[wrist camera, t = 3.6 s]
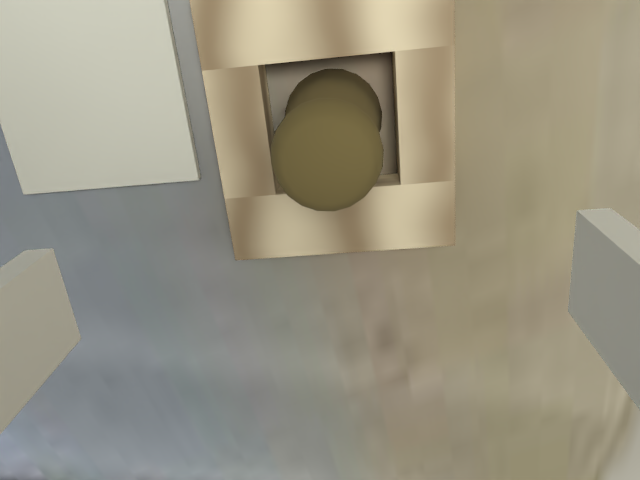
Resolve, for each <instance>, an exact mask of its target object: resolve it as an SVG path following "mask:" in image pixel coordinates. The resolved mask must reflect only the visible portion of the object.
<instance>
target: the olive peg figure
mask: <svg viewBox="0 0 640 480" xmlns="http://www.w3.org/2000/svg"><path fill="white" fill-rule="evenodd" d="M381 121H382V111H381V107H380V103H379V99H378V97H377V95H376V94H375V92H374V91H373V89H372V88H371V86H370V84H368V83H367V82H366V81H365V80H363V79H362V78H361V77H360V76H358V75H357V74H354V73H352V72H349V71H346V70H343V69H324V70H321V71H318V72H315V73H312V74H310V75H309V76H308V77H306V78H305V79H304V80H302V81H301V82H300V83H299V84H298V85H297V86H296V88H295V89H294V91H293V92H292V94H291V95H290V97H289V100H288V104H287V107H286V110H285V118H284V119H283V121H282V122H281V124H280V125H279V126H278V128H277V129H276V131H275V135H274V138H273V141H272V145H271V165H272V168H273V171H274V174H275V176H276V179H277V182H278V184H279V185H280V186H281V187H282V189H283V190H284V191H285V193H286V194H287V195H288V196H289V197H290V198H291V199H293V200H294V201H296V202H297V203H298V204H300V205H301V206H304V207H307V208H310V209H313V210H316V211H337V210H341V209H344V208H348V207H351V206H352V205H354V204H355V203H357V202H358V201H360V200H361V199H363V198H364V197H365V196H366V195H367V194H368V193H369V191H370V190H371V189H372V188H373V186H374V185H375V184H376V183H377V180H378V178H379V175H380V172H381V170H382V167H383V152H384V149H383V145H382V142H381V138H380V134H379V132H380V129H381Z"/></svg>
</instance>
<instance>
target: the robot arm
mask: <svg viewBox="0 0 640 480" xmlns="http://www.w3.org/2000/svg"><path fill="white" fill-rule="evenodd" d="M568 312H569V313H570V315H571V316H572V318H573V319H574V320H575V322H576V323H577V324H578V326H579V327H580V329H581V330H582V331H583V333H584V334H585V335H586V337H587V338H588V340H589V341H590V342H591V344H592V345H593V346H594V348H595V349H596V351H597V352H598V353H599V355H600V356H601V357H602V359H603V360H604V362H605V363H606V364H607V366H608V367H609V368H610V370H611V371H612V373H613V374H614V375H615V377H616V378H617V379H618V381H619V382H620V384H621V385H622V386H623V388H624V389H625V390H626V392H627V393H628V395H629V396H630V397H631V399H632V400H633V401H634V403H635V404H636V406H637V407H638V408H639V410H640V230H639V229H638V228H637V227H635V226H634V225H633V224H631V223H630V222H629V221H627V220H626V219H625V218H623V217H622V216H621V215H619V214H618V213H617V212H615V211H614V210H613V209H611V208H603V209H589V210H577V214H576V226H575V237H574V249H573V260H572V272H571V283H570V295H569V306H568ZM80 339H81V336H80V333H79V330H78V326H77V323H76V320H75V317H74V314H73V311H72V307H71V304H70V301H69V298H68V295H67V292H66V288H65V285H64V282H63V279H62V276H61V272H60V269H59V266H58V263H57V260H56V257H55V253H54V250H53V248H49V249H35V250H25V251H23V252H22V253H20V254H19V255H18V256H16V257H15V258H13V259H12V260H11V261H9V262H8V263H6V264H5V265H4V266H2V267H1V268H0V434H1V433H2V432H3V431H4V429H5V428H6V427H7V426H8V425H9V424H10V422H11V421H12V420H13V419H14V418H15V416H16V415H17V414H18V413H19V412H20V410H21V409H22V408H23V407H24V406H25V405H26V403H27V402H28V401H29V400H30V399H31V397H32V396H33V395H34V394H35V393H36V392H37V390H38V389H39V388H40V387H41V386H42V384H43V383H44V382H45V381H46V380H47V379H48V377H49V376H50V375H51V374H52V373H53V371H54V370H55V369H56V368H57V367H58V366H59V364H60V363H61V362H62V361H63V360H64V358H65V357H66V356H67V355H68V354H69V352H70V351H71V350H72V349H73V348H74V347H75V345H76V344H77V343H78V342H79V341H80Z"/></svg>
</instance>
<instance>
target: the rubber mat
mask: <svg viewBox="0 0 640 480" xmlns="http://www.w3.org/2000/svg"><path fill="white" fill-rule="evenodd" d="M0 124H1V127H2V130H3V133H4V136H5V139H6V143H7V146H8V149H9V152H10V155H11V158H12V161H13V164H14V167H15V170H16V173H17V176H18V179H19V182H20V185H21V188H22V191H23V194H24V195H25V194H37V193H50V192H62V191H74V190H86V189H98V188H110V187H122V186H134V185H146V184H158V183H170V182H183V181H195V180H199V179H200V178H201V174H200V169H199V164H198V159H197V154H196V148H195V143H194V138H193V133H192V128H191V122H190V117H189V112H188V107H187V101H186V96H185V91H184V86H183V81H182V75H181V70H180V65H179V60H178V55H177V49H176V44H175V39H174V34H173V28H172V23H171V18H170V13H169V8H168V2H167V0H0Z"/></svg>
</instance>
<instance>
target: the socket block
mask: <svg viewBox="0 0 640 480" xmlns="http://www.w3.org/2000/svg"><path fill="white" fill-rule="evenodd" d="M189 1H190V7H191V12H192V18H193V23H194V29H195V35H196V40H197V46H198V52H199V57H200V63H201V69H202V74H203V80H204V86H205V91H206V97H207V103H208V108H209V114H210V119H211V125H212V131H213V136H214V142H215V148H216V153H217V159H218V165H219V170H220V176H221V182H222V187H223V193H224V199H225V204H226V210H227V215H228V221H229V227H230V232H231V238H232V244H233V249H234V255H235V260H248V259H263V258H278V257H292V256H307V255H321V254H336V253H350V252H365V251H380V250H394V249H409V248H423V247H438V246H453V245H455V0H189ZM383 52H392V62H393V84H394V106H395V128H396V150H397V171H398V173H396V174H384V175H379V178H378V180H377V183H376V184H375V185H374V186H373V188H372V189H371V190H370V191H369V193H368V194H367V195H366V196H365V197H364V198H363V199H361V200H360V201H358V202H357V203H355V204H354V205H352V206H351V207H348V208H344V209H341V210H337V211H316V210H313V209H310V208H307V207H304V206H301V205H300V204H298V203H297V202H296V201H294V200H293V199H291V198H290V197H289V196H288V195H287V194H286V193H285V191H284V190H283V189H282V187H281V186H280V185H279V184H278V182H277V179H276V176H275V174H274V171H273V168H272V165H271V145H272V141H273V138H274V129H273V121H272V114H271V106H270V99H269V91H268V84H267V76H266V69H265V64H274V63H284V62H294V61H304V60H314V59H323V58H333V57H343V56H353V55H363V54H373V53H383Z"/></svg>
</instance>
